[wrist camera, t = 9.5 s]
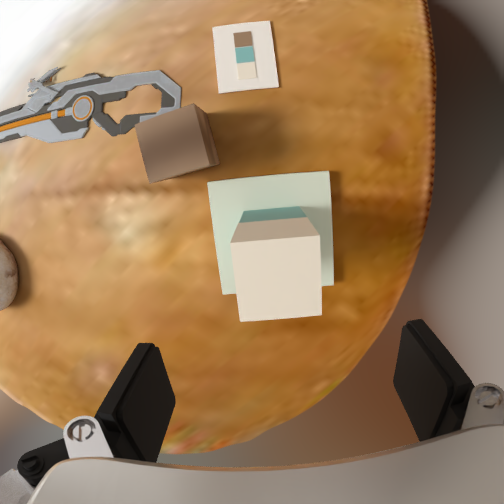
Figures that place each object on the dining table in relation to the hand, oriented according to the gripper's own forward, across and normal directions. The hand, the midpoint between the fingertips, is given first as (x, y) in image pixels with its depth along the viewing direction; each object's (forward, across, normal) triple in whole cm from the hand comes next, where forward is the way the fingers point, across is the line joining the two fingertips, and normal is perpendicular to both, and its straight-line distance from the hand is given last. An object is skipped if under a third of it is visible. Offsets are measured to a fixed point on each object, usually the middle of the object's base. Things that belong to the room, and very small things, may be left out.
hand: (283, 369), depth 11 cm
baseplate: (+22, 0, 0) cm, 22 cm away
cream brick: (+15, 0, 0) cm, 15 cm away
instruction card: (+22, +1, -19) cm, 29 cm away
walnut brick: (+22, +8, -10) cm, 25 cm away
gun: (+23, +27, -19) cm, 40 cm away
